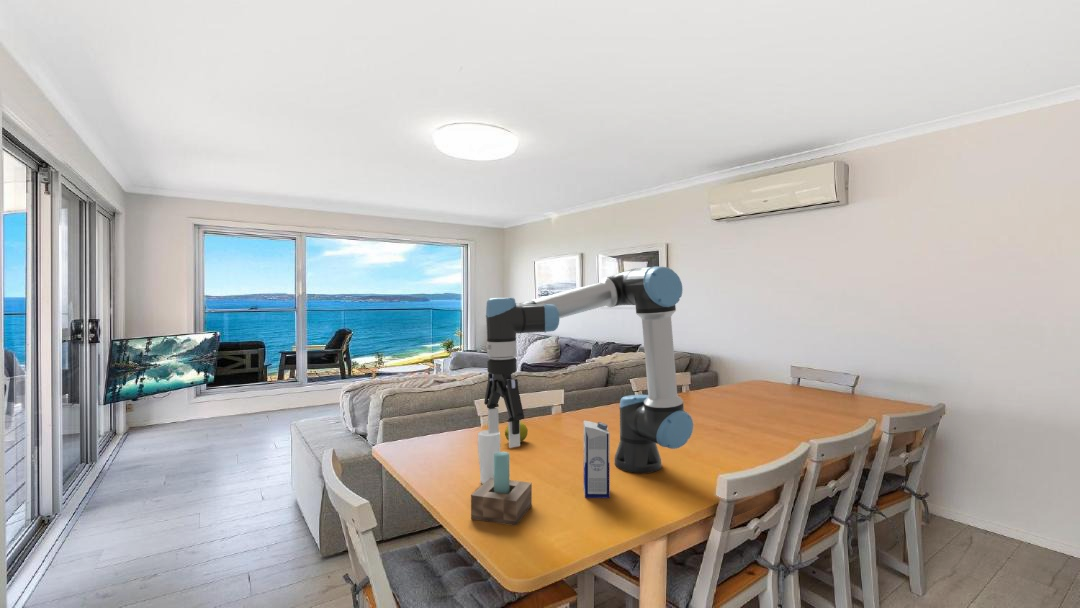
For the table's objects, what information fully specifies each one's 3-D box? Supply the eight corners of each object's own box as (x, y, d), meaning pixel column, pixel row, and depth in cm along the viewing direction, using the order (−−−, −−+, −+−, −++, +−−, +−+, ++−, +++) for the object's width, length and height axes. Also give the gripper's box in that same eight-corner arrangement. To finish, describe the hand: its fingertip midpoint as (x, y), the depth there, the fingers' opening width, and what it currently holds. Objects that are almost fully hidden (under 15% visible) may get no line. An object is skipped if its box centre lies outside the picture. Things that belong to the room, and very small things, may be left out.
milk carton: (583, 487, 138) (583, 419, 138) (606, 487, 138) (606, 419, 138) (585, 497, 131) (585, 425, 131) (609, 498, 131) (609, 426, 131)
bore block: (531, 505, 127) (531, 482, 127) (516, 525, 115) (516, 501, 115) (490, 499, 130) (490, 477, 130) (471, 518, 119) (471, 495, 119)
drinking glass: (491, 488, 138) (491, 437, 138) (473, 483, 141) (473, 433, 141) (505, 481, 144) (505, 431, 143) (487, 476, 147) (487, 428, 147)
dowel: (511, 505, 124) (511, 452, 124) (506, 512, 120) (506, 457, 120) (497, 503, 125) (497, 451, 125) (491, 510, 122) (491, 455, 121)
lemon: (520, 437, 188) (520, 417, 188) (533, 442, 182) (533, 421, 182) (498, 443, 181) (498, 422, 181) (511, 448, 175) (511, 426, 175)
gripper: (471, 353, 132) (473, 429, 132) (508, 364, 110) (509, 455, 110) (496, 351, 135) (498, 425, 136) (536, 361, 113) (538, 450, 114)
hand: (503, 439), depth 123 cm, fingers open, 13 cm apart
